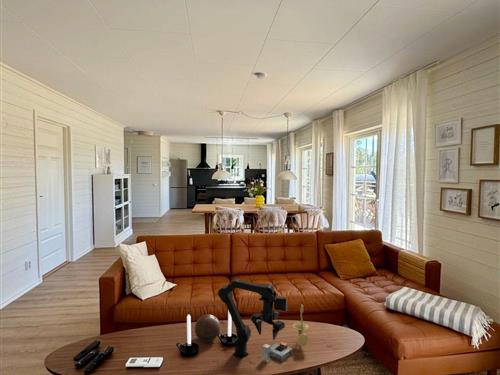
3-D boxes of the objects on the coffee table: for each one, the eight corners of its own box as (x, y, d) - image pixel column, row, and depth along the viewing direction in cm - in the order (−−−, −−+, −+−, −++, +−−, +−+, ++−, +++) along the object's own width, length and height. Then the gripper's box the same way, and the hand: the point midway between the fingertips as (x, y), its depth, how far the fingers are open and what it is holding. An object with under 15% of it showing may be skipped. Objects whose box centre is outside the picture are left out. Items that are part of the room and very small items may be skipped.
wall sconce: (310, 352, 175) (312, 308, 175) (293, 351, 176) (295, 308, 175) (306, 339, 189) (307, 299, 189) (291, 339, 189) (292, 298, 189)
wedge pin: (266, 362, 164) (267, 347, 164) (262, 360, 166) (262, 345, 166) (269, 360, 166) (270, 345, 166) (265, 358, 168) (265, 343, 168)
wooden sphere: (222, 344, 182) (223, 319, 181) (197, 348, 176) (198, 322, 176) (215, 332, 195) (216, 309, 195) (192, 336, 190) (192, 312, 190)
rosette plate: (282, 361, 166) (282, 353, 166) (267, 354, 172) (267, 346, 172) (292, 353, 173) (292, 346, 173) (277, 347, 180) (277, 339, 180)
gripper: (290, 308, 168) (289, 337, 168) (262, 300, 179) (261, 326, 179) (279, 315, 159) (278, 345, 159) (250, 305, 170) (249, 333, 170)
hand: (267, 337), depth 167 cm, fingers open, 9 cm apart
